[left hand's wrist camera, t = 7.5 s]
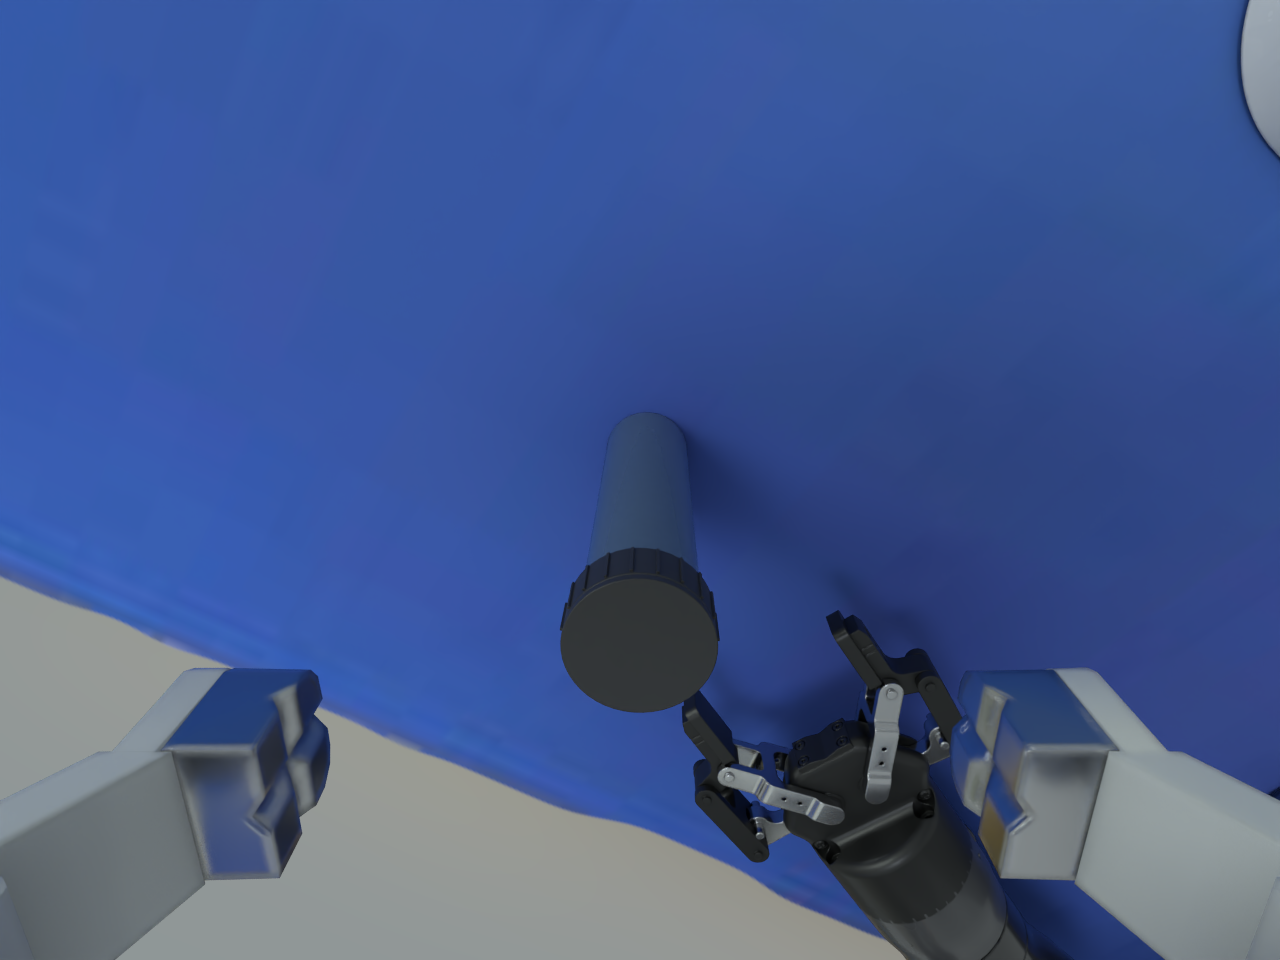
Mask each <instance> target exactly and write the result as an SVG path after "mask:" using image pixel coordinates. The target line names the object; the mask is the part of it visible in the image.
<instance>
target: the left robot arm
mask: <svg viewBox="0 0 1280 960" xmlns="http://www.w3.org/2000/svg"><path fill="white" fill-rule="evenodd" d="M1241 74H1242V82H1243V88H1244V93H1245V97H1246V101H1247V104H1248V108H1249V110H1250V113H1251V115H1252V118H1253V120H1254V122H1255V124H1256V126H1257V128H1258V130H1259V131H1260V133H1261V135H1262V136H1263V138H1264V139H1265V141H1266V142H1267V143H1268V145H1269V146H1270V147H1271V148H1272V149H1273V150H1274V151H1275V152H1276V154H1277V155H1278V156H1279V157H1280V0H1249V3H1248V7H1247V11H1246V16H1245V20H1244V27H1243V33H1242V43H1241ZM322 699H323V698H322V694H321V689H320V684H319V679H318V676H317V675H316V674H315V673H314V672H313V671H311V670H296V669H249V668H233V669H229V668H193V669H190V670H187V671H184V672H183V673H182V674H181V675H180V676H179V677H178V678H177V679H176V680H175V682H174V683H173V684H172V685H171V686H170V687H169V688H168V689H167V691H166V692H165V693H164V694H163V695H162V696H161V697H160V698H159V699H158V701H157V702H156V703H155V704H154V705H153V706H152V707H151V708H150V709H149V711H148V712H147V713H146V714H145V715H144V716H143V717H142V718H141V719H140V721H139V722H138V723H137V724H136V725H135V726H134V727H133V728H132V730H131V731H130V732H129V733H128V734H127V735H126V736H125V737H124V738H123V740H122V741H121V742H120V743H119V744H118V745H117V746H116V747H115V749H114V750H113V751H112V752H97V753H95V754H93V755H91V756H89V757H87V758H85V759H83V760H81V761H79V762H77V763H75V764H73V765H71V766H69V767H67V768H65V769H63V770H61V771H59V772H57V773H55V774H53V775H51V776H49V777H47V778H45V779H43V780H41V781H39V782H37V783H35V784H33V785H31V786H29V787H27V788H25V789H23V790H21V791H19V792H17V793H15V794H13V795H11V796H9V797H7V798H4V799H3V800H0V960H115V959H116V958H118V957H119V956H120V955H121V954H122V953H124V952H125V951H126V950H127V949H128V948H130V947H131V946H132V945H133V944H134V943H136V942H137V941H138V940H139V939H140V938H142V937H143V936H144V935H145V934H146V933H147V932H149V931H150V930H151V929H152V928H153V927H155V926H156V925H157V924H158V923H159V922H161V921H162V920H163V919H164V918H165V917H167V916H168V915H169V914H170V913H171V912H173V911H174V910H175V909H176V908H177V907H179V906H180V905H181V904H182V903H183V902H185V901H186V900H187V899H188V898H189V897H190V896H192V895H193V894H194V893H195V892H196V891H198V890H199V889H200V888H201V887H202V886H204V885H205V881H204V880H231V879H265V878H280V876H281V874H282V872H283V870H284V868H285V866H286V864H287V862H288V860H289V859H290V856H291V855H292V853H293V851H294V849H295V847H296V845H297V843H298V841H299V839H300V837H301V835H302V829H301V824H300V819H299V817H300V816H302V815H303V814H305V813H306V812H307V811H309V810H310V809H311V808H313V807H314V806H316V805H317V803H318V800H319V798H320V796H321V794H322V792H323V790H324V788H325V784H326V779H327V775H328V770H329V766H330V741H329V734H328V728H327V727H326V726H325V725H324V724H323V723H322V722H321V721H320V720H319V719H318V718H317V717H316V716H315V715H314V713H315V711H316V709H317V707H318V706H319V704H320V702H321V700H322ZM957 699H958V700H959V702H960V704H961V706H962V707H963V709H964V711H965V713H966V715H965V716H964V717H963V718H962V719H961V720H960V721H959V722H958V723H957V724H956V725H955V726H954V727H953V728H952V735H951V743H950V750H949V751H950V763H951V773H952V777H953V780H954V784H955V787H956V790H957V792H958V794H959V796H960V798H961V801H962V803H963V805H964V806H966V807H967V808H968V809H970V810H971V811H973V812H974V813H975V814H977V815H978V816H980V817H981V819H980V824H979V829H978V835H979V837H980V839H981V841H982V843H983V845H984V847H985V849H986V851H987V853H988V855H989V856H990V858H991V860H992V862H993V864H994V866H995V868H996V870H997V872H998V874H999V876H1000V878H1012V879H1048V880H1075V884H1076V885H1077V886H1078V887H1079V888H1080V889H1082V890H1083V891H1084V892H1085V893H1086V894H1087V895H1089V896H1090V897H1091V898H1092V899H1093V900H1095V901H1096V902H1097V903H1098V904H1099V905H1101V906H1102V907H1103V908H1104V909H1105V910H1107V911H1108V912H1109V913H1110V914H1111V915H1113V916H1114V917H1115V918H1116V919H1117V920H1118V921H1120V922H1121V923H1122V924H1123V925H1124V926H1126V927H1127V928H1128V929H1129V930H1130V931H1132V932H1133V933H1134V934H1135V935H1136V936H1138V937H1139V938H1140V939H1141V940H1142V941H1143V942H1145V943H1146V944H1147V945H1148V946H1149V947H1151V948H1152V949H1153V950H1154V951H1155V952H1157V953H1158V954H1159V955H1160V956H1161V957H1163V958H1164V959H1165V960H1280V801H1279V800H1277V799H1275V798H1273V797H1271V796H1269V795H1267V794H1265V793H1263V792H1261V791H1259V790H1257V789H1255V788H1253V787H1251V786H1249V785H1247V784H1245V783H1243V782H1241V781H1239V780H1237V779H1235V778H1233V777H1231V776H1229V775H1227V774H1225V773H1223V772H1221V771H1219V770H1217V769H1215V768H1213V767H1211V766H1209V765H1207V764H1205V763H1203V762H1201V761H1199V760H1197V759H1195V758H1193V757H1191V756H1189V755H1187V754H1185V753H1183V752H1168V751H1167V750H1166V749H1165V747H1164V746H1163V745H1162V744H1161V743H1160V742H1159V741H1158V740H1157V738H1156V737H1155V736H1154V735H1153V734H1152V733H1151V732H1150V731H1149V730H1148V728H1147V727H1146V726H1145V725H1144V724H1143V723H1142V722H1141V721H1140V719H1139V718H1138V717H1137V716H1136V715H1135V714H1134V713H1133V712H1132V711H1131V709H1130V708H1129V707H1128V706H1127V705H1126V704H1125V703H1124V702H1123V701H1122V699H1121V698H1120V697H1119V696H1118V695H1117V694H1116V693H1115V692H1114V690H1113V689H1112V688H1111V687H1110V686H1109V685H1108V684H1107V683H1106V682H1105V680H1104V679H1103V678H1102V677H1101V676H1100V675H1099V674H1098V673H1097V672H1096V671H1093V670H1091V669H1089V668H1087V667H1086V668H1056V669H1046V670H990V671H966V672H965V674H964V676H963V678H962V680H961V682H960V688H959V693H958V698H957Z"/></svg>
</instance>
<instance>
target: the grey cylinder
mask: <svg viewBox="0 0 1280 960" xmlns="http://www.w3.org/2000/svg"><path fill="white" fill-rule="evenodd" d="M631 547H634V548H650V549H657V548H658V549H660V550H661V551H664V552H667V553H670V554H672V555H675V556H677V557H678V558H680V557H682V558H683V560H684V561H685V562H687V563H688V564H689V565H691V566H692V567H693V568H694V569H695V570H696V571H697V572H698V562H697V551H696V541H695V530H694V519H693V509H692V498H691V487H690V477H689V466H688V455H687V445H686V441H685V438H684V435H683V433H682V432H681V430H680V429H679V427H678V426H677V425H676V424H675V423H674V422H673V421H671V420H670V419H668V418H666V417H664V416H662V415H659V414H656V413H638V414H634V415H631V416H629V417H627V418H625V419H624V420H622V421H621V422H620V423H619V424H618V425H616V427H615V428H614V429H613V431H612V432H611V434H610V437H609V439H608V443H607V448H606V454H605V460H604V466H603V472H602V477H601V483H600V489H599V495H598V500H597V506H596V512H595V518H594V524H593V529H592V535H591V541H590V547H589V552H588V558H587V564H586V565H590V564H592V563H593V562H595V561H596V560H598V559H599V558H601V557H603V556H605V555H606V553H608V552H609V553H612V552H615V551H618V550H623V549H629V548H631Z"/></svg>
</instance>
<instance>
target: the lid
mask: <svg viewBox="0 0 1280 960" xmlns="http://www.w3.org/2000/svg"><path fill="white" fill-rule="evenodd" d="M560 630H561V631H562V634H561V654H562V659H563V662H564V665H565V668H566V670H567V672H568V674H569V676H570V677H571V678H572V680H573V681H574V683H575V684H576V685H577V686H578V687H579V688H580V689H581V690H582V691H583V692H584V693H585V694H586V695H588V696H589V697H591V698H592V699H594V700H595V701H597V702H599V703H601V704H603V705H605V706H608V707H611V708H613V709H617V710H621V711H627V712H640V713H644V712H654V711H659V710H664V709H667V708H670V707H673V706H675V705H677V704H680V703H682V702H683V701H685V700H687V699H688V698H690V697H691V696H692V695H694V694H695V693H696V692H697V691H698V690H699V689H700V688H701V687H702V686H703V685H704V684H705V682H706V681H707V680H708V678H709V676H710V675H711V673H712V671H713V668H714V666H715V663H716V659H717V654H718V641H720V638H719V630H718V622H717V614H716V613H715V606H714V598H713V592H712V591H711V592H710V591H709V588H708V586H707V584H706V583H705V581H704V579H703V578H702V574H701V573H700V572H699V573H698V572H697V571H696V570H695V569H694V568H693V567H692V566H691V565H689V564H688V563H687V562H685V561H684V560H683V558H682V557H680V558H678V557H677V556H675V555H672V554H670V553H667V552H664V551H661V550H660V549H658V548H657V549H650V548H634V547H631V548H629V549H623V550H618V551H615V552H612V553H609V552H608V553H606V555H605V556H603V557H601V558H599V559H598V560H596V561H595V562H593V563H592V564H590V565H586V568H585V570H584V571H583V572H582V573H581V574H580V576H579V577H578V578H577V580H576V582H575V583H574V582H572V585H571V590H570V595H569V599H568V603H565V607H564V612H563V617H562V622H561V626H560Z"/></svg>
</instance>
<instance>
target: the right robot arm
mask: <svg viewBox="0 0 1280 960" xmlns="http://www.w3.org/2000/svg"><path fill="white" fill-rule="evenodd" d="M826 619H827V621H828V624H829V627H830V630H831V633H832V635H833V637H834V639H835V640H836V642H837V643H838V645H839V646H840V648H841V649H842V651H843V652H844V654H845V655H846V656H847V658H848V659H849V661H850V662H851V664H852V665H853V666H854V668H855V669H856V671H857V672H858V674H859V675H860V677H861V678H862V679H863V681H864V682H865V683H864V689H863V691H860V694H859V699H858V704H857V710H856V716H855V720H852V721H844V719H843V718H841V719H839V720H837V721H835V722H833V723H831V724H830V725H828V726H827V727H826V728H825V729H824V730H822V731H821V732H820V733H818V734H815V735H811V736H807V737H804V738H802V739H800V740H798V741H796V742H794V743H792V745H793V749H792V750H791V749H788V748H784V747H781V746H777V745H774V744H770V743H767V742H761V743H760V744H759V745H753V744H750V743H746V742H743V741H739V740H736V739H732V732H731V730H730V729H729V728H728V726H727V725H726V724H725V723H724V721H723V720H722V719H721V717H720V716H719V715H718V714H717V712H716V711H715V710H714V709H713V707H712V706H711V705H710V704H709V702H708V701H707V700H706V698H705V697H704V696H703V695H702V693H701V692H700V691H699V690H698V691H697V692H696V693H695V694H694V695H692V696H691V697H690V698H688V699H687V700H685V701H684V706H682V720H683V727H684V731H685V733H686V734H687V736H688V737H689V738H690V739H691V741H692V742H693V743H694V744H695V745H696V747H697V748H698V749H699V750H700V752H701V753H702V754H703V755H704V757H705V758H706V759H702V760H699V761H697V762H696V763H695V764H694V767H693V770H694V777H695V802H696V804H697V805H698V806H699V807H700V808H701V809H702V810H703V811H704V812H705V813H706V815H707V816H708V817H709V818H710V819H711V820H712V821H713V822H714V823H715V824H716V825H717V826H718V827H719V828H720V829H721V830H722V831H723V832H724V833H725V834H726V835H727V836H728V838H729V839H730V840H731V841H732V842H733V843H734V844H735V845H736V846H737V847H738V848H739V849H740V850H741V851H742V852H743V853H744V854H745V855H746V856H747V857H748V858H749V859H750V860H751V861H753V862H763V861H765V860H766V859H767V858H768V857H769V849H768V845H769V844H771V843H773V842H775V841H777V840H778V839H780V838H782V837H784V836H786V835H787V834H789V833H792V834H794V835H796V836H798V837H801V838H803V839H805V840H806V841H808V842H809V843H810V844H811V845H812V847H813V848H814V850H815V851H816V853H817V854H818V856H819V857H820V858H821V860H822V861H823V862H824V863H825V865H826V866H827V867H828V868H829V870H830V871H831V872H832V873H833V875H834V876H835V877H836V879H837V880H838V881H839V882H840V884H841V885H842V886H843V887H844V889H845V890H846V891H847V892H848V894H849V895H850V896H851V897H852V899H853V900H854V901H855V902H856V904H857V905H858V906H859V908H860V909H861V910H862V911H863V913H864V914H865V915H866V916H867V918H868V919H869V920H870V921H871V923H872V924H873V925H874V926H875V928H876V929H877V930H878V931H879V932H880V933H881V935H882V936H883V937H884V938H885V939H886V940H887V941H888V942H889V943H891V944H892V945H893V946H894V947H895V948H896V949H897V950H899V951H900V952H901V953H902V954H903V956H904V957H905V958H906V960H1074V959H1073V958H1071V957H1070V956H1069V955H1068V954H1067V953H1065V952H1064V951H1063V950H1062V949H1061V948H1060V947H1058V946H1057V945H1056V944H1055V943H1054V942H1053V941H1051V940H1050V939H1049V938H1048V937H1046V936H1045V935H1043V934H1042V933H1041V932H1039V931H1038V930H1036V929H1035V928H1034V927H1032V926H1031V925H1030V924H1029V923H1027V922H1026V921H1025V920H1024V918H1023V917H1022V915H1021V914H1020V912H1019V911H1018V909H1017V907H1016V906H1015V904H1014V903H1013V902H1012V900H1011V899H1010V897H1009V896H1008V894H1007V893H1006V892H1005V890H1004V889H1003V887H1002V886H1001V884H1000V883H999V882H998V880H997V878H996V876H995V874H994V872H993V870H992V867H991V865H990V863H989V861H988V860H987V858H986V856H985V855H984V853H983V851H982V850H981V848H980V847H979V845H978V844H977V841H976V839H975V836H974V835H973V833H972V832H971V830H970V829H969V828H968V827H967V826H966V825H965V824H963V822H962V821H961V820H960V818H959V817H958V815H957V814H956V812H955V811H954V809H953V808H952V807H951V805H950V804H949V802H948V801H947V799H946V798H945V797H944V795H943V794H942V792H941V791H940V789H939V788H938V786H937V785H936V784H935V782H934V781H933V779H932V778H931V776H930V775H929V765H932V764H934V763H936V762H939V761H941V760H943V759H946V758H948V757H950V751H949V750H950V743H951V735H952V728H953V727H954V726H955V725H956V724H957V723H958V722H959V721H960V720H961V719H962V716H961V714H960V713H959V711H958V709H957V707H956V705H955V703H954V702H953V700H952V698H951V696H950V694H949V693H948V691H947V689H946V687H945V685H944V684H943V682H942V680H941V678H940V676H939V675H938V673H937V671H936V669H935V667H934V666H933V664H932V662H931V660H930V658H929V657H928V655H927V653H926V652H925V651H924V650H922V649H912V650H910V651H909V652H908V653H907V654H906V655H905V657H902V658H890V657H888V656H886V655H885V654H884V653H883V652H882V650H881V649H880V647H879V646H878V644H877V643H876V641H875V640H874V638H873V637H872V635H871V634H870V632H869V631H868V630H867V628H866V627H865V625H864V624H863V622H862V621H861V620H860V619H859V618H857V617H856V616H854V615H851V616H849V617H847V618H845V619H844V617H843V616H842V614H841V613H840V611H839V610H837V611H836V612H834V613H832V614H830V615H828V616H826ZM916 692H919V693H920V694H921V696H922V698H923V700H924V701H925V703H926V705H927V707H928V708H929V710H930V712H931V713H929V714H927V716H926V718H927V720H926V721H925V723H924V729H925V735H924V737H923V738H922V739H921V740H920V741H916V740H915V739H914V738H912V737H909V736H906V735H903V734H900V733H899V726H898V719H899V714H900V709H901V704H902V700H903V695H906V694H911V693H916ZM776 770H779V771H783V772H784V777H783V781H781V780H780V779H779V778H778V776H777V771H776ZM738 789H739V790H742V791H746V792H749V793H753V794H754V795H756V796H757V798H758V799H759V800H760V801H761V802H763V803H765V804H768V805H772V806H776V807H779V808H781V810H778V811H769V810H767V809H766V808H764V807H763V806H760V803H759V802H758V801H753V802H752V803H750V802H749V801H748V800H747V799H746V798H745V797H744V796H743V795H742V794H741V792H740V791H739V790H738ZM1271 797H1273V798H1275V799H1277V800H1279V801H1280V790H1279V791H1278V792H1276V793H1274V794H1273V795H1271Z"/></svg>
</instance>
